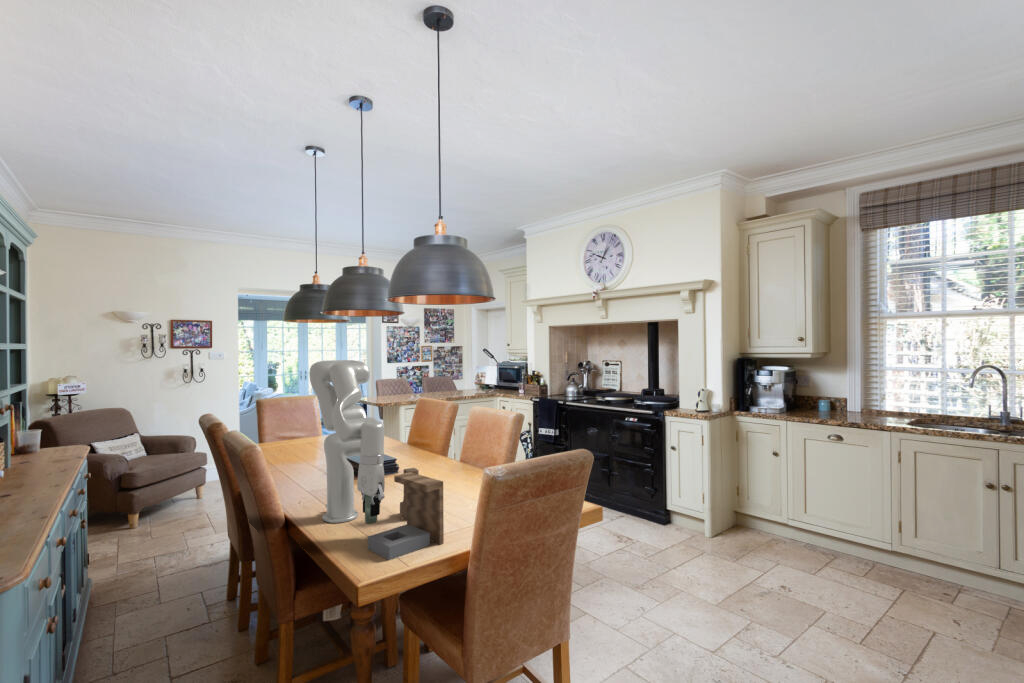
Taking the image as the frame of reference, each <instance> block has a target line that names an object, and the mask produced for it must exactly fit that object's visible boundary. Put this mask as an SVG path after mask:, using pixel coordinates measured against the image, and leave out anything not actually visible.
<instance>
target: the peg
mask: <svg viewBox="0 0 1024 683" xmlns="http://www.w3.org/2000/svg"><path fill="white" fill-rule="evenodd" d="M376 494H377V493H376ZM376 498H377V496H375V499H376ZM371 504H372V500H371V497H370V496H368V495H366V494H365V513H364V523H365V524H367V525H370V524H371V525H372V524H376V523H377V522H378V515H376V516H373V517H371V516H370V506H371Z"/></svg>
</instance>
